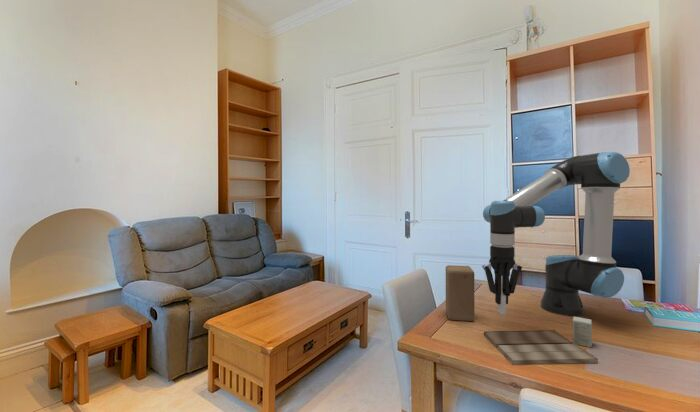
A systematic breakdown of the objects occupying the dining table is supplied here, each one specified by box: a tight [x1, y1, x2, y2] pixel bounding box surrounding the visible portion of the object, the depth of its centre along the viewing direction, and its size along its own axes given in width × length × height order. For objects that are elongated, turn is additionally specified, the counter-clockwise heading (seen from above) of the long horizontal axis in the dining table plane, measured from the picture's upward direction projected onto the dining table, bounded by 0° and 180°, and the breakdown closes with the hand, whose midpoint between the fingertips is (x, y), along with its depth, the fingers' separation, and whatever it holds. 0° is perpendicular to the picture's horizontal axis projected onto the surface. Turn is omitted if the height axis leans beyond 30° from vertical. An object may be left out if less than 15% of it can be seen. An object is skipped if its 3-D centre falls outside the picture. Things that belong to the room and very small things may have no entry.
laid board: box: [497, 343, 599, 365], centre depth 95 cm, size 25×9×1 cm, turn 90°
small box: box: [572, 316, 593, 348], centre depth 102 cm, size 5×4×8 cm
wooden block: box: [445, 264, 475, 322], centre depth 126 cm, size 10×10×20 cm
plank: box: [483, 329, 574, 349], centre depth 105 cm, size 25×9×1 cm, turn 90°
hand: (501, 313), depth 108 cm, fingers closed
